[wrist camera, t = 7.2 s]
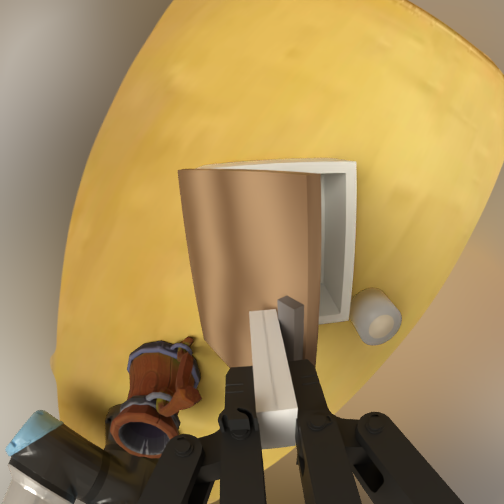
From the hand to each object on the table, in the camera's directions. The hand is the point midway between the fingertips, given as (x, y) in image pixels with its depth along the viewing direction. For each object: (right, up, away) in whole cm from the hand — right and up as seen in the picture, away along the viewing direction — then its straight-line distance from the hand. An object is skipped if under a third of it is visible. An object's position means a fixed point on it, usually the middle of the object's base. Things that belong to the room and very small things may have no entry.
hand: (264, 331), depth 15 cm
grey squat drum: (+15, -3, +22) cm, 27 cm away
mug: (-12, -11, +24) cm, 29 cm away
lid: (-1, +2, +5) cm, 5 cm away
